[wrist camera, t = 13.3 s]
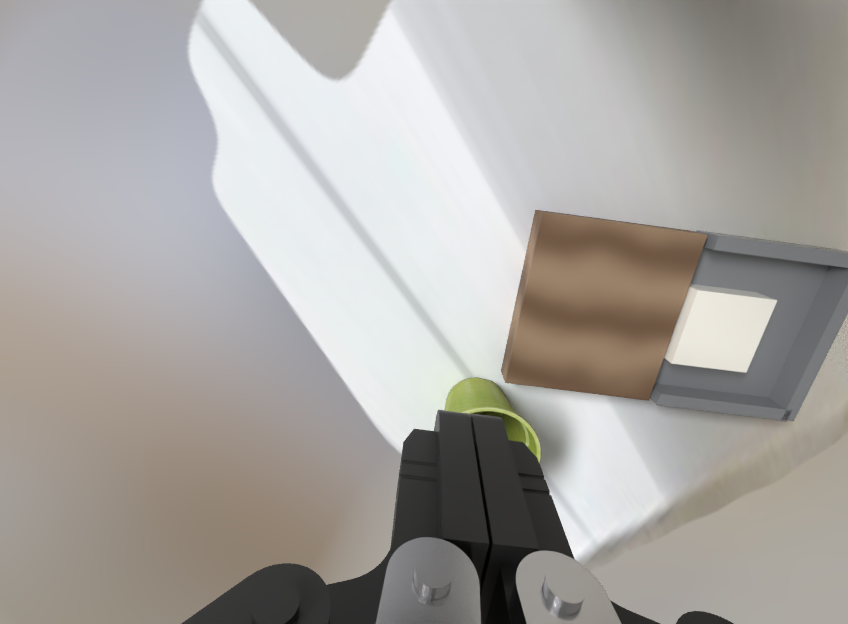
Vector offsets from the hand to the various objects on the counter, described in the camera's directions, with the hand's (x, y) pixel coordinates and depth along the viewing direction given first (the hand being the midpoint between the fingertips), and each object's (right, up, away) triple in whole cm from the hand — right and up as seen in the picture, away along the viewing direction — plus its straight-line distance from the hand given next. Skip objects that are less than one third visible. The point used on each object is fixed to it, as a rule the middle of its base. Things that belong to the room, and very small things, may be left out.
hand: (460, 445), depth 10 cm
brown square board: (+15, +4, +29) cm, 33 cm away
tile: (+26, +2, +29) cm, 38 cm away
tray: (+29, +2, +29) cm, 41 cm away
